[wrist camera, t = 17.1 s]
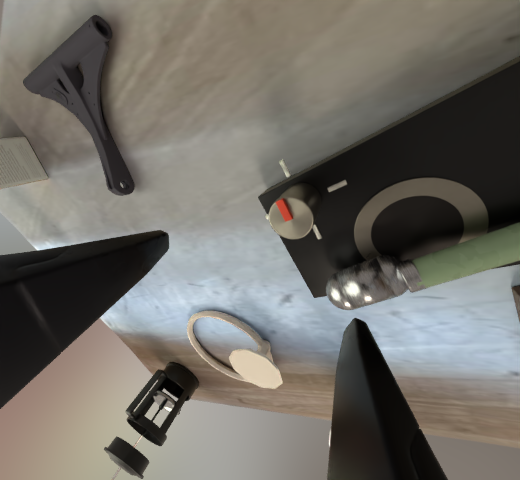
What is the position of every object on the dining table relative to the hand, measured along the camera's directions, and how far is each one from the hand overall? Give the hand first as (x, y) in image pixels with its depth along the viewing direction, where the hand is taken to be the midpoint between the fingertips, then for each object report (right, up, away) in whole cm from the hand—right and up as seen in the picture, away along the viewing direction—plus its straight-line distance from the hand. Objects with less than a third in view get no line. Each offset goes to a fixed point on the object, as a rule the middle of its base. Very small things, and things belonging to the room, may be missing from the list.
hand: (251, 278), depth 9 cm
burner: (+12, +2, +6) cm, 14 cm away
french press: (-19, -31, +43) cm, 57 cm away
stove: (+11, +4, +8) cm, 15 cm away
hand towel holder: (-4, -16, +28) cm, 32 cm away
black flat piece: (-18, +15, +16) cm, 28 cm away
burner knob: (+4, +5, +8) cm, 10 cm away
